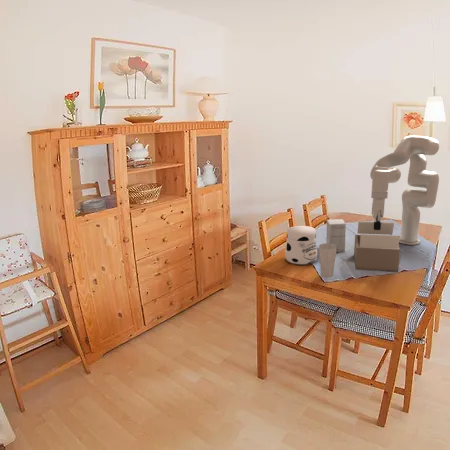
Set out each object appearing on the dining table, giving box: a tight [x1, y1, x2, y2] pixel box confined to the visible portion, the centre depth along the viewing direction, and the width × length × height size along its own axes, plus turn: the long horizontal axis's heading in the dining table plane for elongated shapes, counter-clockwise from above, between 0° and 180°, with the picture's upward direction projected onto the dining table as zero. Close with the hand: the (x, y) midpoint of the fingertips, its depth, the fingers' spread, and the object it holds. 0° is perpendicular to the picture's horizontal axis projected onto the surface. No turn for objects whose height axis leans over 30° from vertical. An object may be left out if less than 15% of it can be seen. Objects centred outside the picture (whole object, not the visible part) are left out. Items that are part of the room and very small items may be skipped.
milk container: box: [284, 225, 319, 266], centre depth 209 cm, size 17×17×18 cm
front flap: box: [360, 234, 400, 249], centre depth 188 cm, size 8×18×1 cm
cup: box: [318, 242, 337, 279], centre depth 191 cm, size 8×8×16 cm
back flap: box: [356, 221, 395, 235], centre depth 207 cm, size 8×18×1 cm
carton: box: [353, 234, 401, 273], centre depth 203 cm, size 20×20×12 cm
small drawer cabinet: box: [326, 218, 347, 253], centre depth 224 cm, size 10×9×17 cm
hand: (377, 229), depth 199 cm, fingers closed
